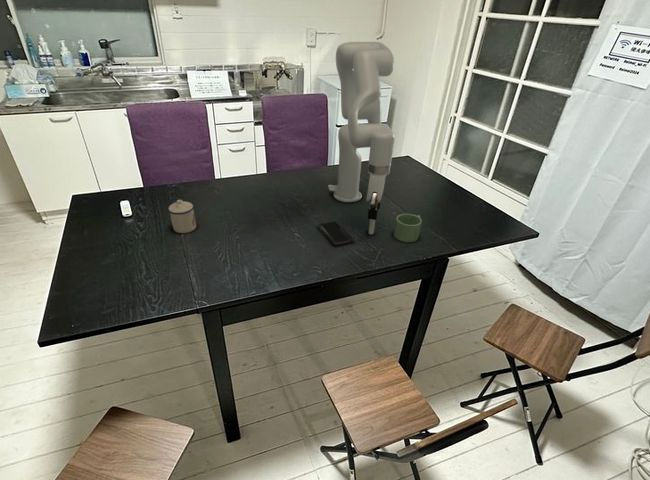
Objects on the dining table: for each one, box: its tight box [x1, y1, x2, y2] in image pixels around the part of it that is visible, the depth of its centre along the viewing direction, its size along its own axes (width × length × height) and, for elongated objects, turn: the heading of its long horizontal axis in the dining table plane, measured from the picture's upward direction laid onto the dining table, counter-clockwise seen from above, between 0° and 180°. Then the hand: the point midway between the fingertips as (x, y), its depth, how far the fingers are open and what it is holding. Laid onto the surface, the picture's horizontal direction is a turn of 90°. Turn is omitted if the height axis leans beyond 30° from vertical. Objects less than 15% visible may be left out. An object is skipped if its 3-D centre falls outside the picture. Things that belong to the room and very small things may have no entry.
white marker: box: [368, 200, 377, 235], centre depth 141 cm, size 2×2×14 cm
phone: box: [318, 220, 353, 247], centre depth 144 cm, size 8×1×15 cm
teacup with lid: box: [168, 199, 197, 234], centre depth 145 cm, size 12×9×12 cm
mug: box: [393, 213, 423, 243], centre depth 143 cm, size 12×9×7 cm
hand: (373, 213), depth 140 cm, fingers open, 7 cm apart
